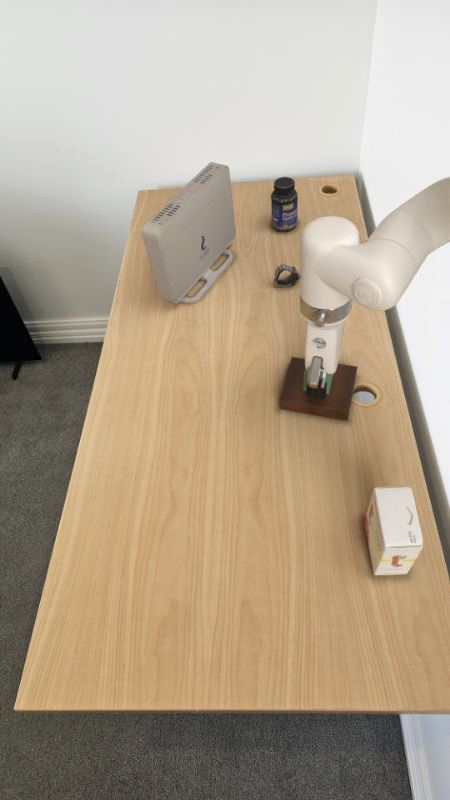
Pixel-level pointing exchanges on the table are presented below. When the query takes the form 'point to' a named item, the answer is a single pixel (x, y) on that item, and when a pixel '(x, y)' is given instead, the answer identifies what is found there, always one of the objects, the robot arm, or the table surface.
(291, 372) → the walnut block
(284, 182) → the pill bottle
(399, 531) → the ink box
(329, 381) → the green cube
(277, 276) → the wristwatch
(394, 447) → the table surface
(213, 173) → the network device
